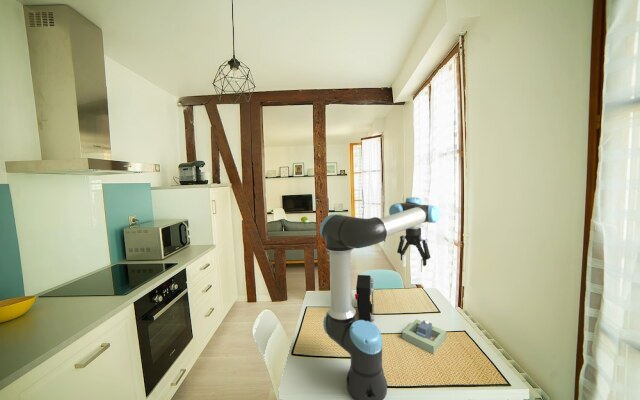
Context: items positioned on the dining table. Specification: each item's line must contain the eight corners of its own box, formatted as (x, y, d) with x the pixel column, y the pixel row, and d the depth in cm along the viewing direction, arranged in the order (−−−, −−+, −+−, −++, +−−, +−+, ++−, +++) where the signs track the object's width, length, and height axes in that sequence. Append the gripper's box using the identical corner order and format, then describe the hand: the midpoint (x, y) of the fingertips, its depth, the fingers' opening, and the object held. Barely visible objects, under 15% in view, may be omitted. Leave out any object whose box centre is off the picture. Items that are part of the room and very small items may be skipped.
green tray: (433, 354, 108) (433, 346, 108) (402, 338, 119) (402, 331, 119) (446, 338, 119) (446, 331, 118) (416, 325, 130) (416, 319, 129)
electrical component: (374, 324, 132) (374, 288, 130) (355, 322, 134) (354, 287, 132) (373, 307, 149) (373, 275, 147) (357, 305, 151) (356, 274, 149)
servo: (424, 345, 114) (424, 329, 114) (416, 341, 117) (416, 326, 116) (433, 335, 121) (433, 320, 121) (425, 331, 124) (425, 317, 124)
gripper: (438, 228, 121) (437, 272, 123) (397, 223, 137) (397, 262, 139) (432, 231, 116) (431, 276, 118) (390, 225, 132) (390, 265, 134)
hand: (413, 268), depth 128 cm, fingers open, 10 cm apart
